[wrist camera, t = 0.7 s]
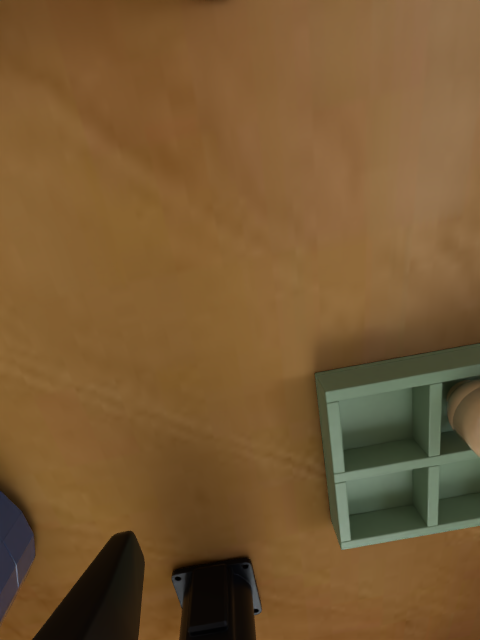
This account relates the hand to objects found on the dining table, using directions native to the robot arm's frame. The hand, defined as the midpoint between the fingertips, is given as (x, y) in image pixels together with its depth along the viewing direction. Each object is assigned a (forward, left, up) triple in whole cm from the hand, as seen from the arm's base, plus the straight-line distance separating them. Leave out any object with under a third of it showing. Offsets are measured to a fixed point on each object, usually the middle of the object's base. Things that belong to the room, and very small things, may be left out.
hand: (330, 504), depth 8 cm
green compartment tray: (-11, -13, -14) cm, 22 cm away
